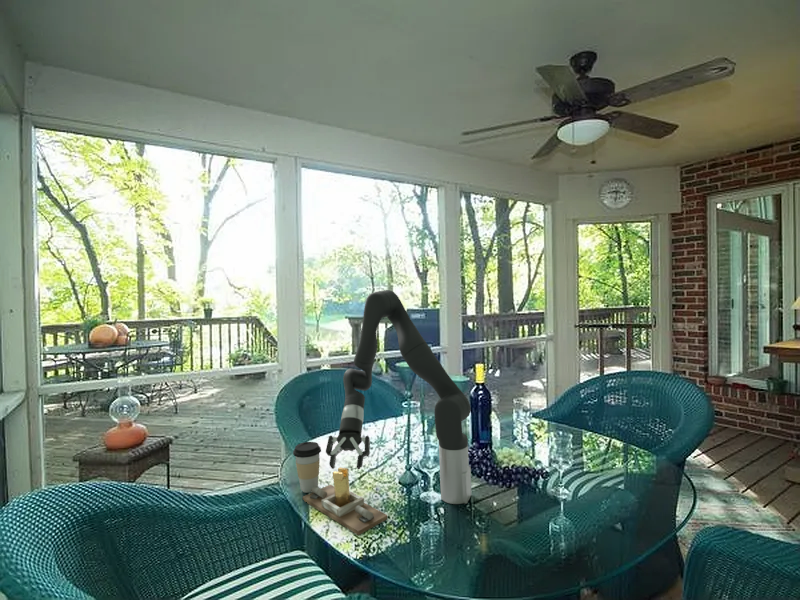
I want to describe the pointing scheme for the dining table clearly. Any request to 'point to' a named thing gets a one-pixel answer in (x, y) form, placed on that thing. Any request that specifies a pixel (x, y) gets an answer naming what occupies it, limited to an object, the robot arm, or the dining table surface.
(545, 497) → the dining table surface
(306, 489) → the coffee cup
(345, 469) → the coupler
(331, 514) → the clamping jig board
